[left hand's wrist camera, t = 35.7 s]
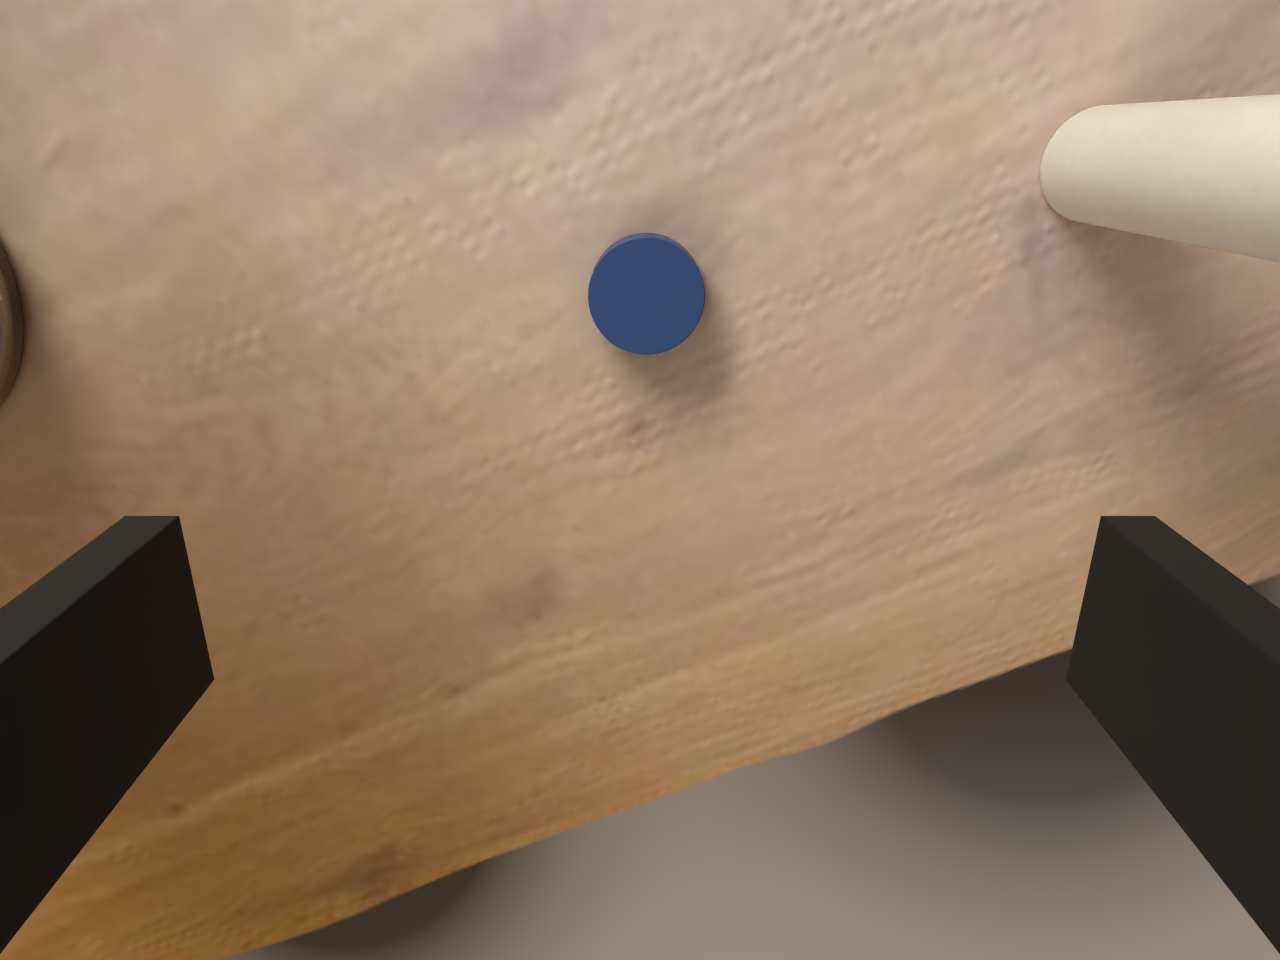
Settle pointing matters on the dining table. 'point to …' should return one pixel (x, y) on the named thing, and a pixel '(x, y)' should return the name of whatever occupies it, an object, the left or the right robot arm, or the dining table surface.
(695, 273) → the lid
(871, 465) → the dining table surface
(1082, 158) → the jar
